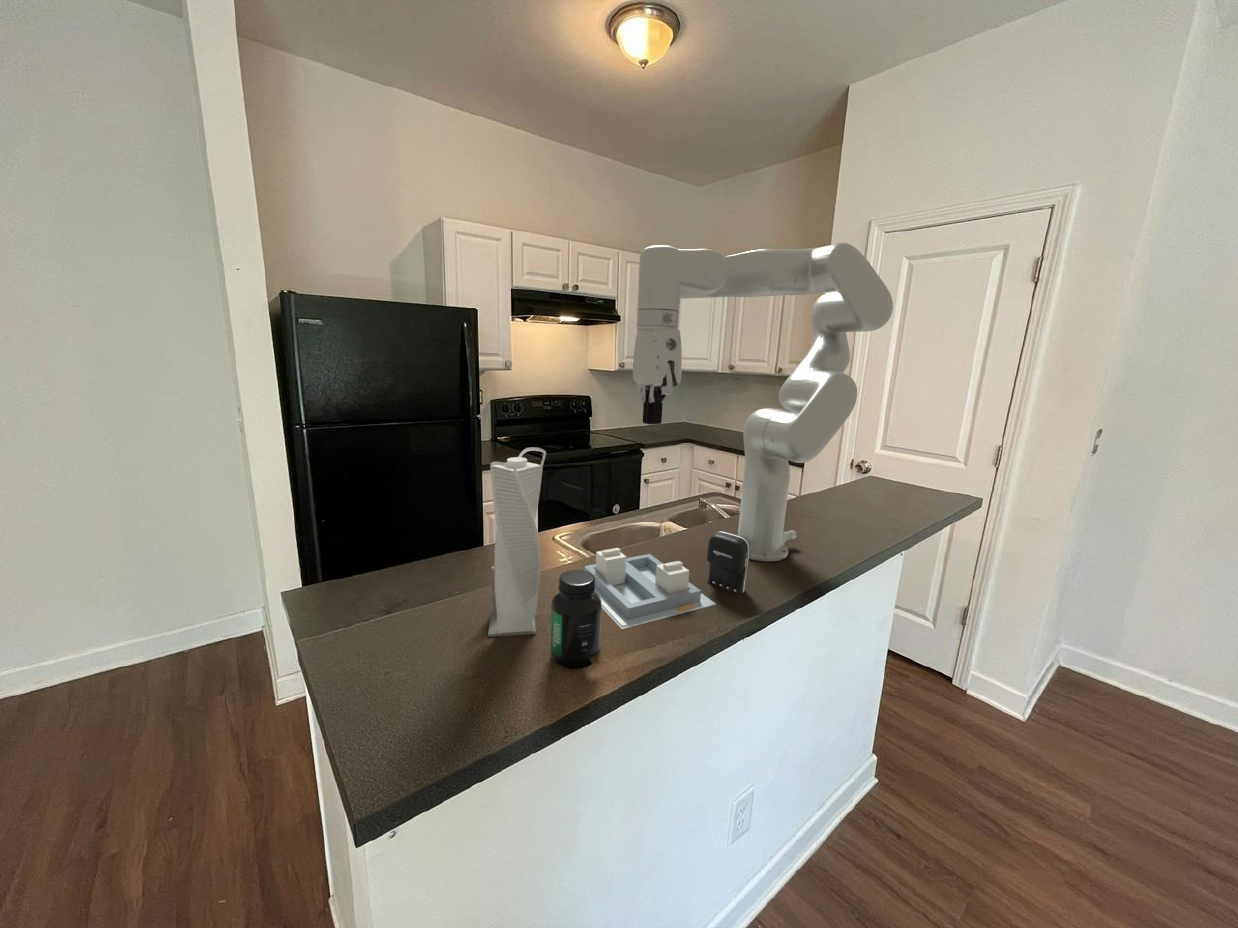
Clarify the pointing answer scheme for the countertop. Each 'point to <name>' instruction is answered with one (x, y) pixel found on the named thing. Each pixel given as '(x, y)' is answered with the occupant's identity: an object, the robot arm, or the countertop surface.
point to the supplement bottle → (575, 620)
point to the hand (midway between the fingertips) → (651, 423)
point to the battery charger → (728, 561)
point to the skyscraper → (515, 546)
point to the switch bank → (643, 595)
